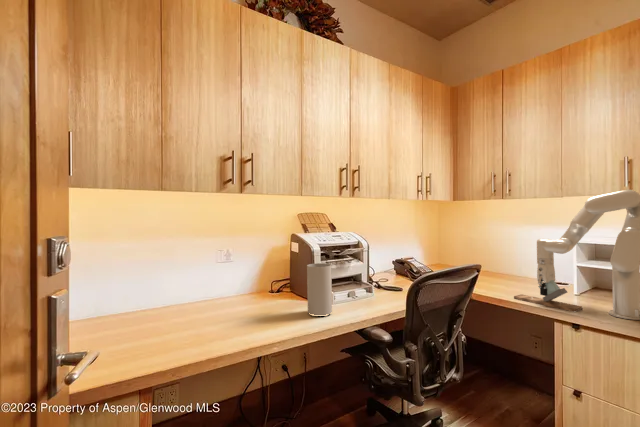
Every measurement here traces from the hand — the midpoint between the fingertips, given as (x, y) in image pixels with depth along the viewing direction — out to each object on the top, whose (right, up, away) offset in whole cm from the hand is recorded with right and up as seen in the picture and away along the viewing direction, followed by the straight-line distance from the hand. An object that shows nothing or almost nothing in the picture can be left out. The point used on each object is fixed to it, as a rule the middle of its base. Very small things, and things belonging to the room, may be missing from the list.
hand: (546, 294), depth 175 cm
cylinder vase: (-124, -7, -11) cm, 125 cm away
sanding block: (+2, 0, -4) cm, 5 cm away
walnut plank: (0, -5, 0) cm, 5 cm away
